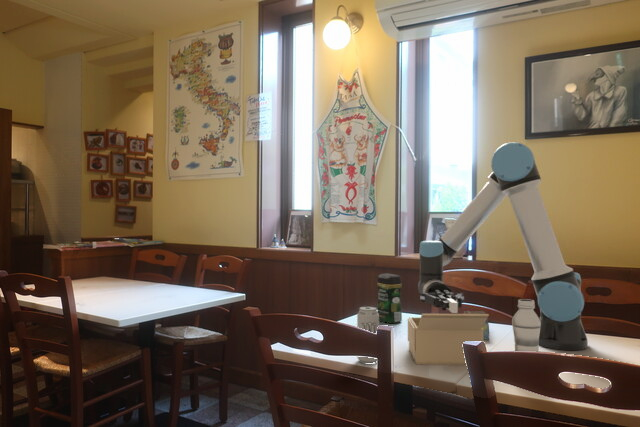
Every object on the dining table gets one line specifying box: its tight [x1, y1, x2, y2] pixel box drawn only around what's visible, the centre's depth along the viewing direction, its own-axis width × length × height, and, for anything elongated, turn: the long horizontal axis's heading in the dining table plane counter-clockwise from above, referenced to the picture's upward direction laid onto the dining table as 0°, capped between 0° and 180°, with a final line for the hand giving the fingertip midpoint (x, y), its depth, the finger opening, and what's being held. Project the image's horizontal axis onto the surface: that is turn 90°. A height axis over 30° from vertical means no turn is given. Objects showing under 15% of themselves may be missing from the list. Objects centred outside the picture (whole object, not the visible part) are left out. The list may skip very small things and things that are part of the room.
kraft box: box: [407, 317, 484, 366], centre depth 138 cm, size 19×14×10 cm
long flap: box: [418, 313, 490, 330], centre depth 128 cm, size 17×9×1 cm
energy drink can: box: [356, 306, 380, 364], centre depth 134 cm, size 6×6×15 cm
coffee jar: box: [376, 272, 403, 324], centre depth 187 cm, size 10×8×19 cm
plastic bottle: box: [511, 298, 541, 353], centre depth 118 cm, size 6×7×20 cm
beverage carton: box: [462, 310, 490, 341], centre depth 168 cm, size 8×19×7 cm, turn 165°
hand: (454, 307), depth 124 cm, fingers closed
